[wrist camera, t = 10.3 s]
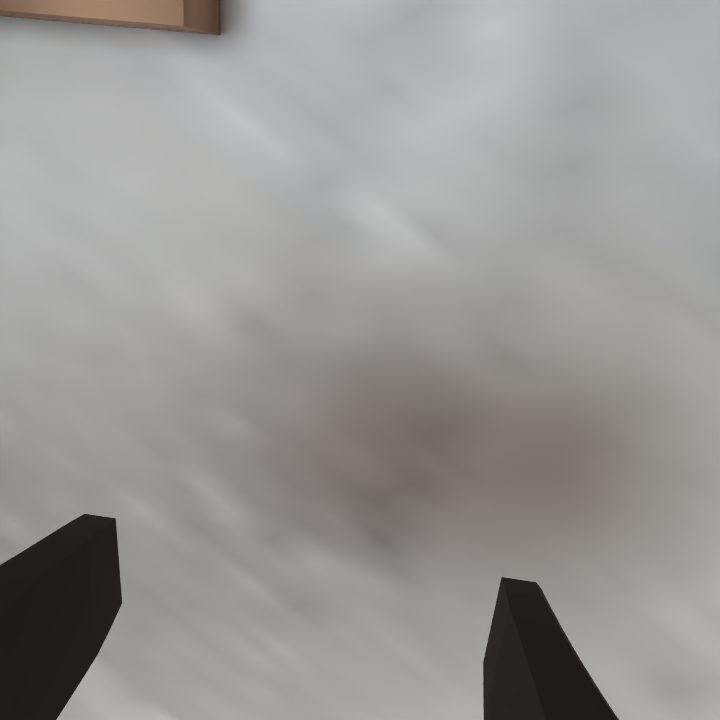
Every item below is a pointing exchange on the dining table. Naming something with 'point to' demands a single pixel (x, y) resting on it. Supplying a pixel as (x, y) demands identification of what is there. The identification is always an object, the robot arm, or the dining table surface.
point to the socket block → (123, 13)
